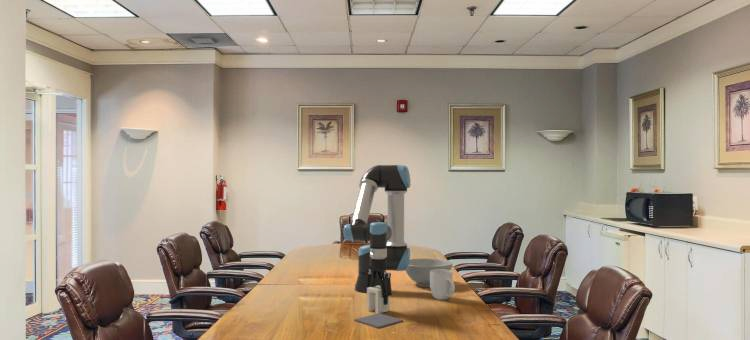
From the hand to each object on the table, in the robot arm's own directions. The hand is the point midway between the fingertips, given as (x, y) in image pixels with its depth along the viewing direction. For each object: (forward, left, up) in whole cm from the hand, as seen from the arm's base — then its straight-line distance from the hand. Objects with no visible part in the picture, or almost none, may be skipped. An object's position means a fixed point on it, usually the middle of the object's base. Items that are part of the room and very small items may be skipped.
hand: (377, 310), depth 225 cm
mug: (+5, +38, 0) cm, 38 cm away
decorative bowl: (-21, +57, 0) cm, 61 cm away
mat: (+12, -11, 0) cm, 16 cm away
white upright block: (0, 0, 0) cm, 0 cm away
